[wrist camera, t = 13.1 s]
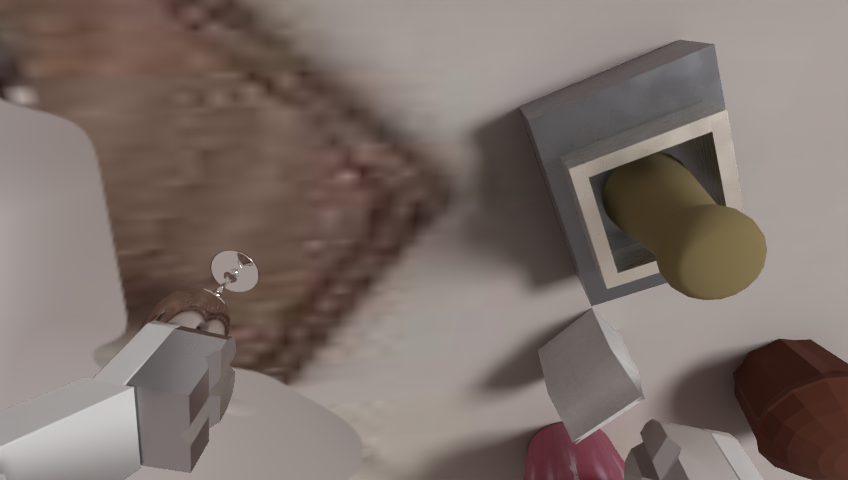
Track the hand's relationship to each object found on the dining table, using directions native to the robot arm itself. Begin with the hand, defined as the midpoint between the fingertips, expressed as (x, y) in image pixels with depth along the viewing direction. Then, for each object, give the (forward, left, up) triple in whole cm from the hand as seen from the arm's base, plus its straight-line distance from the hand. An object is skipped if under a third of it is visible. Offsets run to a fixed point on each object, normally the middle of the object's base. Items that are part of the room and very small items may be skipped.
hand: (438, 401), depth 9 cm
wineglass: (+6, -24, -31) cm, 40 cm away
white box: (+25, +3, -31) cm, 40 cm away
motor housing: (+10, +11, -31) cm, 34 cm away
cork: (+10, +11, -26) cm, 30 cm away
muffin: (+36, +20, -31) cm, 52 cm away
